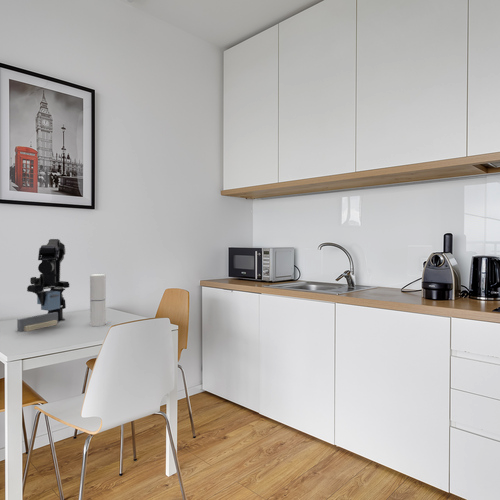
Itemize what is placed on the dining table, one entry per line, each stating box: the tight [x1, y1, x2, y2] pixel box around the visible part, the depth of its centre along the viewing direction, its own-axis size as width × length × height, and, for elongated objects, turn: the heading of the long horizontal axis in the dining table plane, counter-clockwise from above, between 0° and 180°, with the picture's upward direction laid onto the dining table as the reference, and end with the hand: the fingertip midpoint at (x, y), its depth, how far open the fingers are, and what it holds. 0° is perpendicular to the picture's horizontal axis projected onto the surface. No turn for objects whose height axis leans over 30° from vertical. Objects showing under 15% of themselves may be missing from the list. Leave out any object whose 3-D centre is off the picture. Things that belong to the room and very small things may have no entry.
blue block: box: [36, 290, 60, 312], centre depth 186 cm, size 6×8×8 cm
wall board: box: [16, 312, 59, 333], centre depth 189 cm, size 20×4×6 cm, turn 155°
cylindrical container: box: [89, 273, 107, 327], centre depth 195 cm, size 7×7×25 cm
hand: (49, 304), depth 186 cm, fingers closed on blue block, 6 cm apart
